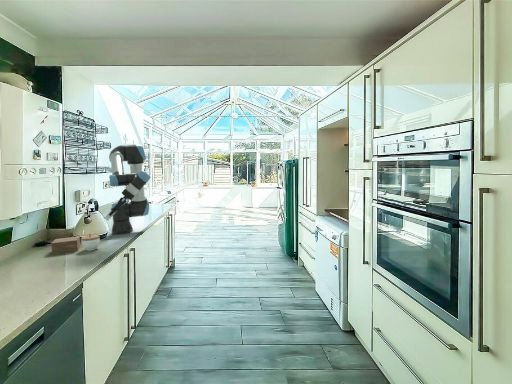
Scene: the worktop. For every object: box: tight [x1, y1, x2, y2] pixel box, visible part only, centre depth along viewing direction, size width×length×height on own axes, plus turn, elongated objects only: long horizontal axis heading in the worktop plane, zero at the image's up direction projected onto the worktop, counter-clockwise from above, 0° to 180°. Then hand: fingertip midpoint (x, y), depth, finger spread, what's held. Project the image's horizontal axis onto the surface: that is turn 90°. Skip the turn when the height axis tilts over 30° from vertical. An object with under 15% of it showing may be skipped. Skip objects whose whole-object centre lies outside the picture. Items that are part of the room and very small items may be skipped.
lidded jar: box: [80, 234, 101, 252], centre depth 241 cm, size 11×11×9 cm
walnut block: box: [50, 236, 82, 255], centre depth 244 cm, size 14×14×7 cm
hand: (107, 218), depth 244 cm, fingers open, 13 cm apart
